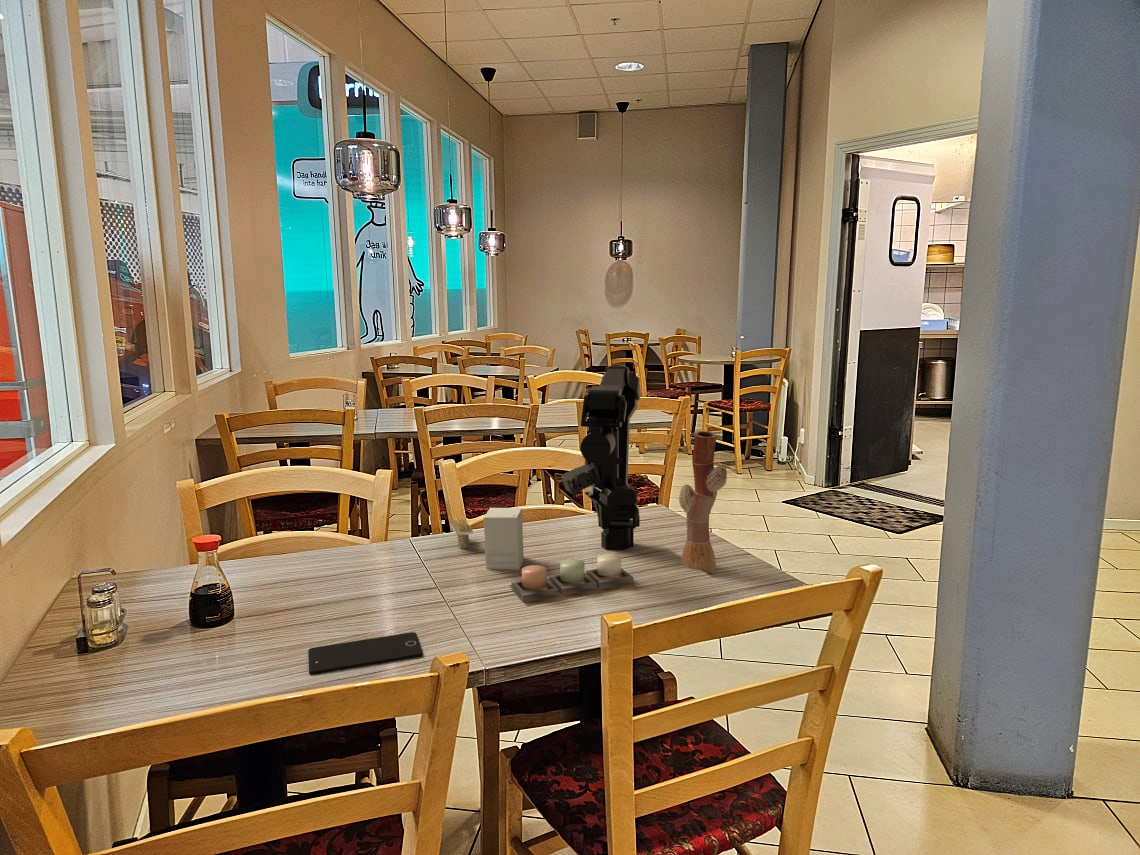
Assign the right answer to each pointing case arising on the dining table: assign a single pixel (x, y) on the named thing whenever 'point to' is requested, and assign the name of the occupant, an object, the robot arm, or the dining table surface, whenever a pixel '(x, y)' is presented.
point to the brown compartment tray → (572, 587)
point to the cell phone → (363, 653)
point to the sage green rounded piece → (572, 571)
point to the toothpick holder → (462, 532)
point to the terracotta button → (534, 577)
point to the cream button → (609, 565)
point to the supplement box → (503, 538)
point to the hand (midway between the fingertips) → (604, 528)
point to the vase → (701, 503)
